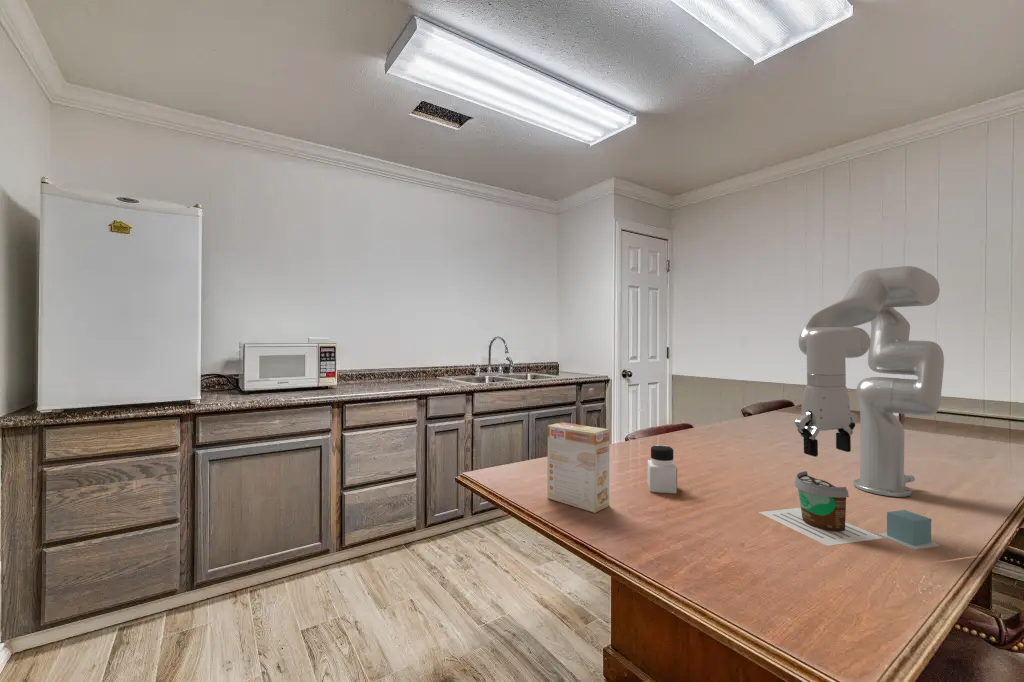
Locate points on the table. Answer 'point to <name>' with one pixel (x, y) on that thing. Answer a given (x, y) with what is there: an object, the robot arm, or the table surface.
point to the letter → (826, 537)
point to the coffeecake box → (578, 466)
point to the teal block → (909, 527)
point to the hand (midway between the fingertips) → (827, 452)
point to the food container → (821, 503)
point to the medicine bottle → (662, 470)
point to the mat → (909, 544)
